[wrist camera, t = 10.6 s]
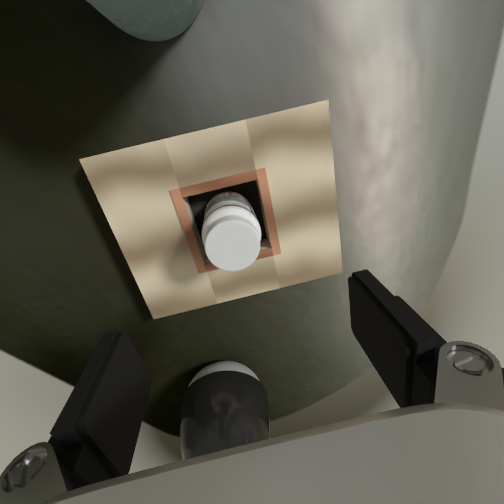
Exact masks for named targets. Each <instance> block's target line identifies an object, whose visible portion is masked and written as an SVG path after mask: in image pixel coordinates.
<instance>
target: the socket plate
mask: <svg viewBox="0 0 504 504" xmlns="http://www.w3.org/2000/svg"><path fill="white" fill-rule="evenodd" d="M79 160H80V162H81V164H82V167H83V169H84V171H85V173H86V175H87V177H88V179H89V182H90V184H91V186H92V188H93V190H94V192H95V194H96V197H97V199H98V201H99V203H100V205H101V207H102V209H103V212H104V214H105V216H106V218H107V220H108V222H109V225H110V227H111V229H112V231H113V233H114V235H115V237H116V240H117V242H118V244H119V246H120V248H121V250H122V252H123V255H124V257H125V259H126V261H127V263H128V265H129V267H130V270H131V272H132V274H133V276H134V278H135V280H136V282H137V285H138V287H139V289H140V291H141V293H142V295H143V297H144V300H145V302H146V304H147V306H148V308H149V310H150V312H151V315H152V317H153V319H157V318H161V317H165V316H169V315H173V314H177V313H181V312H185V311H189V310H193V309H198V308H202V307H206V306H210V305H214V304H218V303H222V302H226V301H230V300H234V299H238V298H242V297H246V296H250V295H254V294H258V293H262V292H266V291H270V290H274V289H278V288H282V287H286V286H290V285H295V284H299V283H303V282H307V281H311V280H315V279H319V278H323V277H327V276H331V275H335V274H339V273H343V270H342V258H341V246H340V234H339V222H338V210H337V198H336V186H335V174H334V162H333V150H332V138H331V126H330V114H329V102H328V100H325V101H321V102H317V103H313V104H308V105H304V106H300V107H296V108H292V109H287V110H283V111H279V112H275V113H271V114H267V115H262V116H258V117H254V118H250V119H246V120H241V121H237V122H233V123H229V124H225V125H221V126H216V127H212V128H208V129H204V130H200V131H195V132H191V133H187V134H183V135H179V136H175V137H170V138H166V139H162V140H158V141H154V142H149V143H145V144H141V145H137V146H133V147H129V148H124V149H120V150H116V151H112V152H108V153H103V154H99V155H95V156H91V157H87V158H83V159H79ZM254 180H255V181H256V186H257V191H258V196H259V201H260V205H261V210H262V215H263V220H264V225H265V230H266V234H267V238H266V239H262V240H261V241H260V251H259V254H258V256H257V258H256V260H255V261H254V262H253V263H252V264H251V265H250V266H248V267H247V268H245V269H242V270H238V271H225V270H222V269H220V268H218V267H216V266H214V265H213V264H212V263H211V262H210V260H209V259H208V257H207V255H206V253H205V250H204V247H203V244H202V241H201V238H200V235H199V232H198V228H197V225H196V222H195V219H194V216H193V213H192V210H191V207H190V204H189V200H188V197H187V196H192V195H196V194H200V193H204V192H208V191H212V190H216V189H221V188H225V187H229V186H233V185H237V184H241V183H245V182H249V181H254Z"/></svg>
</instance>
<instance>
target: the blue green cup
mask: <svg viewBox="0 0 504 504" xmlns="http://www.w3.org/2000/svg"><path fill="white" fill-rule="evenodd" d="M86 1H87V2H89V3H90V4H91V5H92V6H93V7H95V8H96V10H98V11H99V12H100V13H101V14H102V15H104V16H105V17H106V18H107V19H108V20H110V21H111V22H112V23H113V24H115V25H116V26H117V27H118V28H120V29H121V30H123V31H124V32H126V33H127V34H130V35H132V36H134V37H136V38H139V39H143V40H147V41H164V40H168V39H172V38H174V37H176V36H178V35H180V34H181V33H182V32H184V31H185V30H186V29H187V28H188V27H189V26H190V25H191V24H192V23H193V22H194V20H195V19H196V17H197V16H198V14H199V12H200V10H201V8H202V5H203V2H204V0H86Z"/></svg>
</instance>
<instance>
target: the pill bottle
mask: <svg viewBox="0 0 504 504" xmlns="http://www.w3.org/2000/svg"><path fill="white" fill-rule="evenodd" d="M202 241H203V244H204V247H205V252H206V255H207V257H208V259H209V260H210V262H211V263H212V264H213V265H214V266H216V267H218V268H220V269H222V270H225V271H238V270H242V269H245V268H247V267H248V266H250V265H251V264H252V263H253V262H254V261H255V260H256V258H257V256H258V254H259V251H260V241H261V228H260V225H259V222H258V220H257V218H256V215H255V213H254V211H253V208H252V206H251V204H250V202H249V201H248V200H247V199H246V198H245V197H244V196H242V195H241V194H239V193H236V192H231V191H227V192H222V193H219V194H217V195H215V196H214V197H213V198H212V199H211V200H210V201H209V202H208V204H207V206H206V209H205V216H204V222H203V227H202Z"/></svg>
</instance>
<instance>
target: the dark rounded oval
mask: <svg viewBox="0 0 504 504" xmlns="http://www.w3.org/2000/svg"><path fill="white" fill-rule="evenodd" d="M180 439H181V450H182V458H183V460H186V459H190V458H194V457H198V456H202V455H206V454H210V453H214V452H218V451H222V450H226V449H230V448H234V447H238V446H242V445H246V444H250V443H255V442H259V441H263V440H267V439H269V405H268V398H267V393H266V390H265V388H264V386H263V385H262V383H261V382H260V381H259V379H258V378H257V376H256V375H255V374H254V372H253V371H252V370H250V369H249V368H248V367H246V366H245V365H243V364H240V363H238V362H234V361H220V362H215V363H212V364H210V365H208V366H206V367H205V368H203V369H202V370H200V371H199V372H198V373H197V374H196V375H195V377H194V378H193V379H192V381H191V382H190V384H189V386H188V388H187V389H186V391H185V392H184V394H183V396H182V400H181V406H180Z"/></svg>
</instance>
